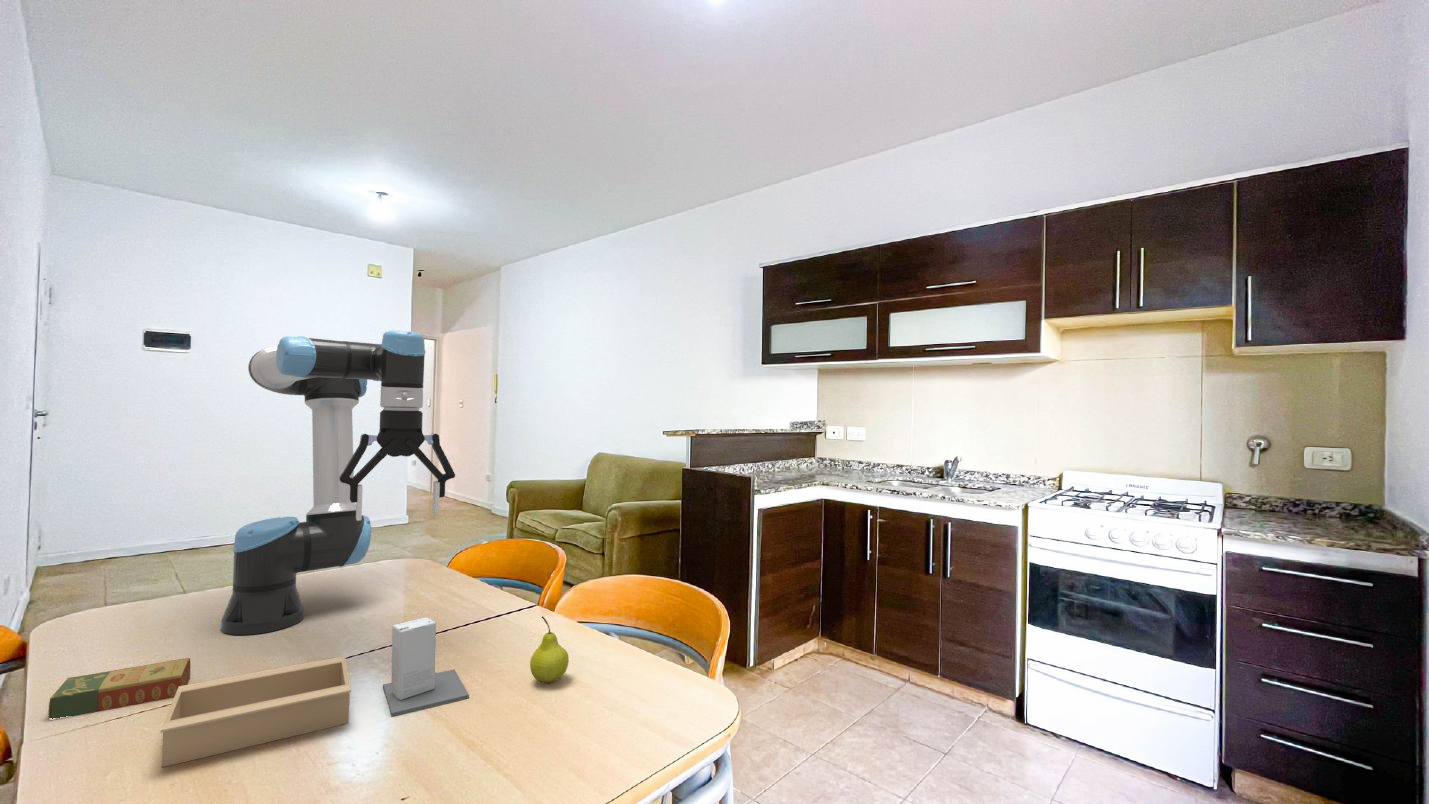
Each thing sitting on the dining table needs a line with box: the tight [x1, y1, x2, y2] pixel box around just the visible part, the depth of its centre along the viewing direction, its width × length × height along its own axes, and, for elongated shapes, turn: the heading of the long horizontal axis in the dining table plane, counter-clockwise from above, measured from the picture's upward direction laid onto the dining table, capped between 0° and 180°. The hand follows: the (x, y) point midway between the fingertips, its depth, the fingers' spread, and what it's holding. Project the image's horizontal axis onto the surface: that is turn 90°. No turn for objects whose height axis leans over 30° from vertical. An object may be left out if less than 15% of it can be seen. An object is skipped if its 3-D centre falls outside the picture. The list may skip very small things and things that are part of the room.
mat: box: [382, 669, 470, 718], centre depth 106 cm, size 12×12×1 cm
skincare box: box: [390, 616, 437, 700], centre depth 105 cm, size 6×4×12 cm
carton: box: [47, 657, 191, 719], centre depth 102 cm, size 8×16×4 cm, turn 124°
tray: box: [160, 655, 352, 768], centre depth 94 cm, size 15×22×6 cm
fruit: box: [529, 615, 570, 685], centre depth 112 cm, size 7×7×12 cm
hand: (398, 516), depth 119 cm, fingers open, 13 cm apart
